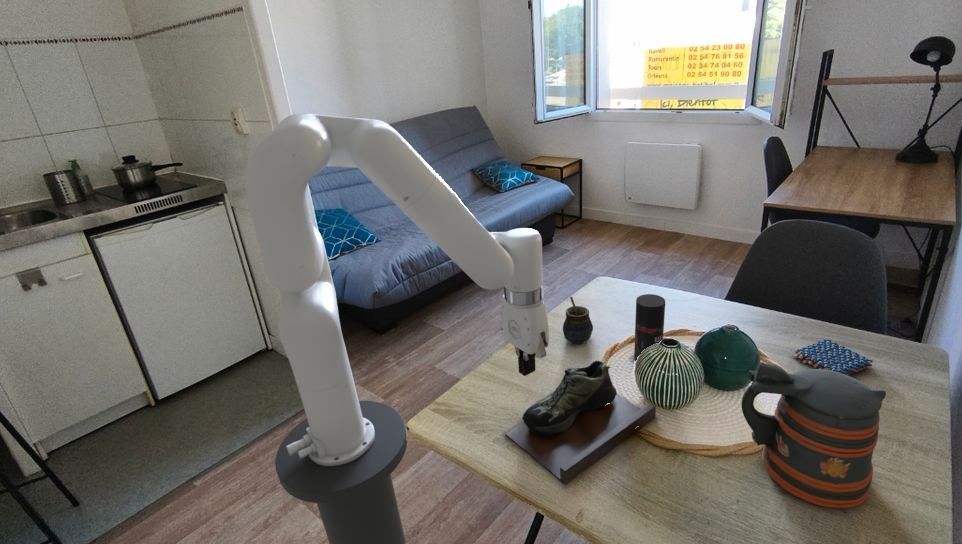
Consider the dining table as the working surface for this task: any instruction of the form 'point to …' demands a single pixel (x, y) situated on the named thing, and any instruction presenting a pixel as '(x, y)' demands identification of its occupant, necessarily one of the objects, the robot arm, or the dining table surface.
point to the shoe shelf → (584, 438)
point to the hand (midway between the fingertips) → (527, 371)
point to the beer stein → (816, 433)
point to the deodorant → (648, 322)
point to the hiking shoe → (571, 399)
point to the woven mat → (833, 357)
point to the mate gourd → (577, 324)
